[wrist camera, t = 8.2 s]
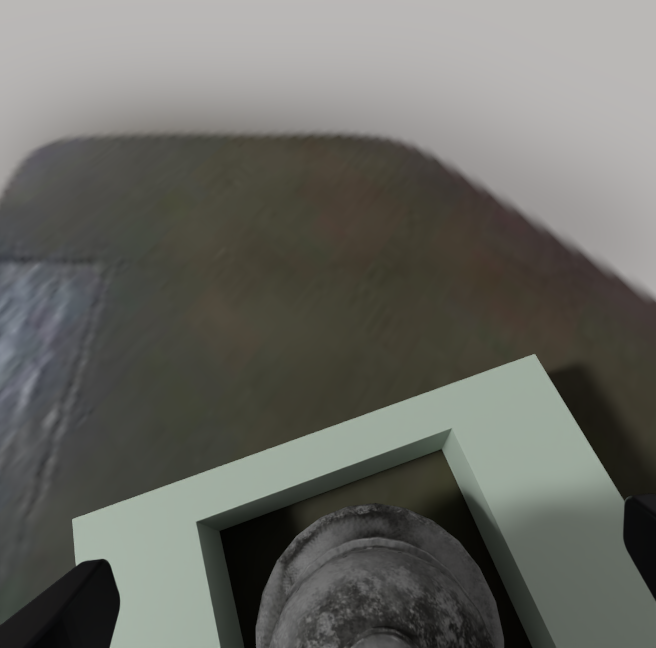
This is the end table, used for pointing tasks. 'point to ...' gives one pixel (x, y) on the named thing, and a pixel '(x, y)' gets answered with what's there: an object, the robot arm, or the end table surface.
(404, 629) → the grey stone chess bishop
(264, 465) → the socket board
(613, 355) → the end table surface
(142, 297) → the end table surface
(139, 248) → the end table surface
